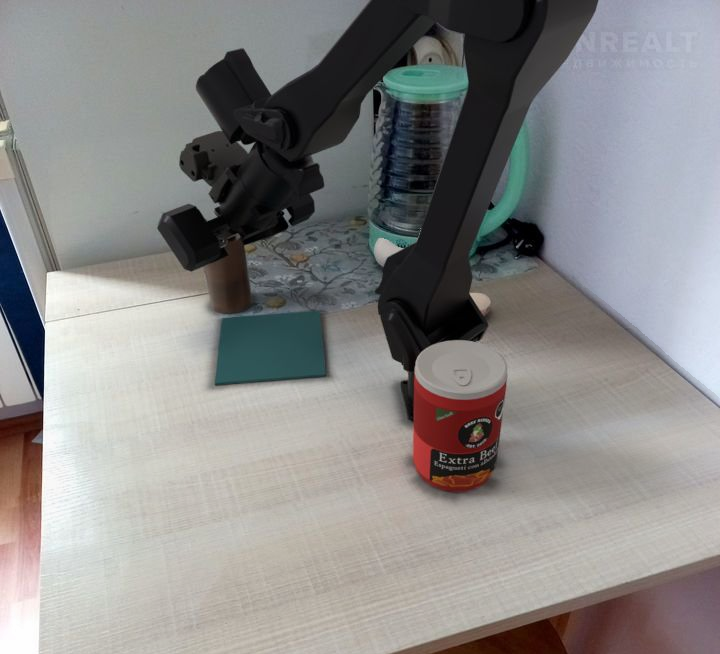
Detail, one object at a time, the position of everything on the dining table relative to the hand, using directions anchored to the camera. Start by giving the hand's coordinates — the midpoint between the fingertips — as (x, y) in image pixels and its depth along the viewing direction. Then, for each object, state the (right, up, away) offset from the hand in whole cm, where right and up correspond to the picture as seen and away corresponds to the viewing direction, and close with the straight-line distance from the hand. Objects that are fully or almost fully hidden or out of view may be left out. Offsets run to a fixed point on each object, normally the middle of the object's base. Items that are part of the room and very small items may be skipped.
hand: (216, 251), depth 86 cm
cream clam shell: (+31, -8, 0) cm, 32 cm away
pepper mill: (+1, -6, +4) cm, 7 cm away
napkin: (+7, -12, -5) cm, 15 cm away
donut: (+24, +1, +11) cm, 27 cm away
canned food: (+26, -26, -21) cm, 42 cm away
